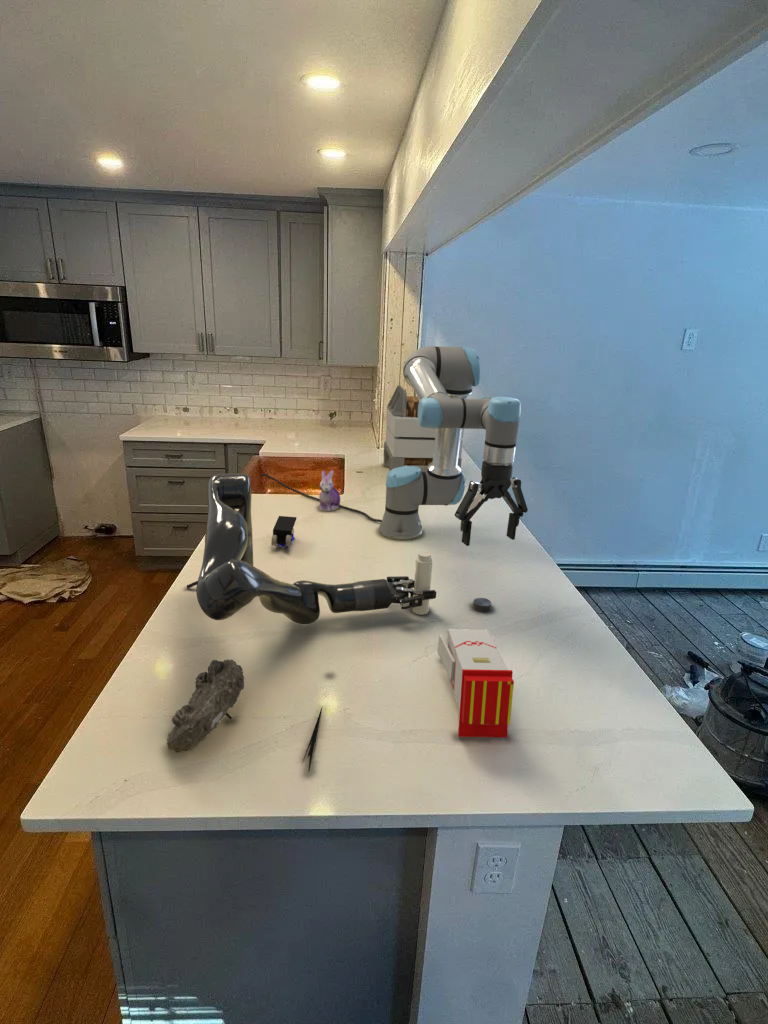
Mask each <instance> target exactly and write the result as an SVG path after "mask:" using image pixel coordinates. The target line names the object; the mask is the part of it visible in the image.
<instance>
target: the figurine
mask: <svg viewBox="0 0 768 1024" xmlns="http://www.w3.org/2000/svg"><path fill="white" fill-rule="evenodd" d="M333 477H334V470H333V469H331V470H330V471H328V473H326V471H325V470H322V471H321V481H320V482H319V489H320V492H319V495H318V496H319V498H318V499H319V501H318V502H319V506H318V507H319V510H320V511H324V512H329V511H335V510H338V509H339V508H340V507H339V506H340V505H341V495H340V492H339V491H338V489H336V488H335V484H334V482H333Z"/></svg>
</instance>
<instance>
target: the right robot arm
mask: <svg viewBox="0 0 768 1024" xmlns="http://www.w3.org/2000/svg"><path fill="white" fill-rule="evenodd" d="M481 373H482V367H481V360H480V356H479V353H478V352H477V350H476V349H475V348H472V347H466V346H465V347H464V346H435V345H428V346H423V347H420V348H418V349H416V350H414V351H413V352H412V353H410V354H409V355H408V356H407V358H406V359H405V360H404V363H403V367H402V375H403V378H404V381H405V382H406V384H407V385H408V386H409V387H411V388H412V389H413V391H414V393H415V395H416V397H418V399H419V405H418V422H419V425H420V426H421V427H425V428H432V429H436V435H435V444H434V453H433V462H432V463H430V464H429V465H428V466H426V467H427V468H426V471H422V469H421V467H420V466H407V465H404V466H402V467H397V468H394V469H392V470H391V471H390V470H388V473H387V475H386V480H385V481H386V482H385V487H386V488H385V504H384V505H385V507H384V508H385V509H384V513H383V515H382V519H379V518H374V517H371V516H370V515H368V514H367V513H366V512H364V511H363V510H362V511H361V510H359V509H356V508H351V507H348V506H345V505H341V504H340V506H339V508H341V509H343V510H348V511H351V512H355V513H357V514H361V515H363V516H364V517H366V518H367V519H368V520H370V521H372V522H375V523H376V522H377V523H379V527H378V533H379V534H380V535H381V536H382V537H385V538H387V539H389V540H395V541H410V540H415V539H418V538H420V537H421V536H422V535H423V525H422V521H421V518H420V515H419V507H420V506H447V507H448V506H454V505H455V506H456V505H458V504H459V505H458V507H457V509H456V510H455V512H454V517H455V518H456V519H458V520H459V521H460V527H459V530H460V532H461V543H462V544H464V545H465V546H466V547H469V546H470V545H471V544H470V543H471V535H472V525H473V521H472V520H471V519H472V518H473V517H474V515H475V514H476V513H477V512H478V511H479V509H480V508H481V507H482V506H483V504H485V502H488V500H493V499H503V501H505V503H506V504H507V506H508V508H510V510H511V512H509V514H508V521H507V528H506V537H507V538H508V539H510V540H512V541H514V540H515V538H516V532H517V527H519V525H520V518H522V517H523V516H524V513H528V511H529V510H528V506H527V503H526V499H525V496H524V493H523V490H522V480H521V479H519V478H517V477H516V476H513V471H514V464H513V463H514V462H515V457H516V448H517V440H518V434H519V427H520V421H521V420H520V419H521V416H522V413H521V408H522V402H521V401H520V400H519V399H517V398H513V397H510V396H493V397H491V396H481V397H478V398H467V397H469V396H470V395H471V394H472V393H473V387H474V388H475V387H477V386H479V384H480V381H481V378H482V377H481V376H482V374H481ZM462 429H464V430H466V429H467V430H468V429H469V430H470V429H471V430H472V429H473V430H485V438H484V446H483V455H482V456H483V457H482V459H483V461H482V462H481V463H482V464H481V471H480V475H481V480H479V482H477V481H474V480H470V481H469V484H468V488H467V490H466V492H465V489H466V477H465V474H464V472H462V467H461V468H460V467H459V466H458V457H459V449H460V442H461V440H462V438H461V434H462ZM260 477H261V478H262V477H266V478H268V479H270V480H273V481H274V482H276V483H277V484H279V485H281V486H283V487H284V488H286V489H288V490H290V491H291V492H294V493H297V494H298V495H301V496H303V497H306V498H309V499H311V500H314V501H317V502H320V501H319V498H318V497H316V496H312V495H309V494H307V493H304V492H302V491H299V490H297V489H295V488H292V487H290V486H289V485H287V484H285V483H283V482H281V481H280V480H278V479H276V478H275V477H272V475H271V476H270V475H269V474H266V473H262V474H261V475H260ZM510 487H511V489H512V493H513V496H514V499H513V497H512V495H511V493H510V492H509V489H510ZM464 493H465V494H464Z"/></svg>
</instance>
